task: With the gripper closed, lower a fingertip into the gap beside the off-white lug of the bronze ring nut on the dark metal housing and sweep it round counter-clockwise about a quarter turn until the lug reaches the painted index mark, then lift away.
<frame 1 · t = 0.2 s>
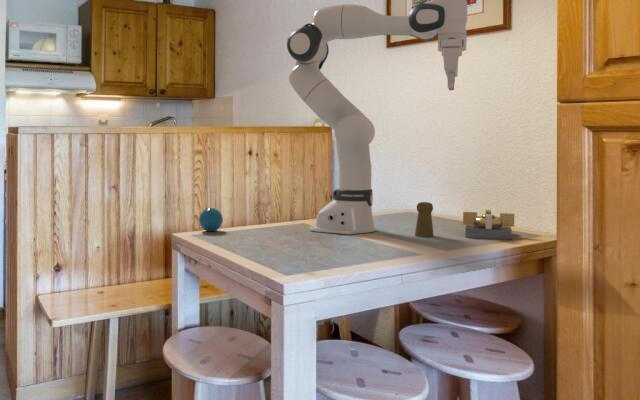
hand: (450, 89, 184), 47 cm above the table, fingers open, 8 cm apart
housing: (487, 235, 189), on the table
ball: (211, 232, 194), on the table
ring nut: (488, 219, 188), point 5 cm above the table, hinge at 0.0°
cork: (424, 236, 188), on the table
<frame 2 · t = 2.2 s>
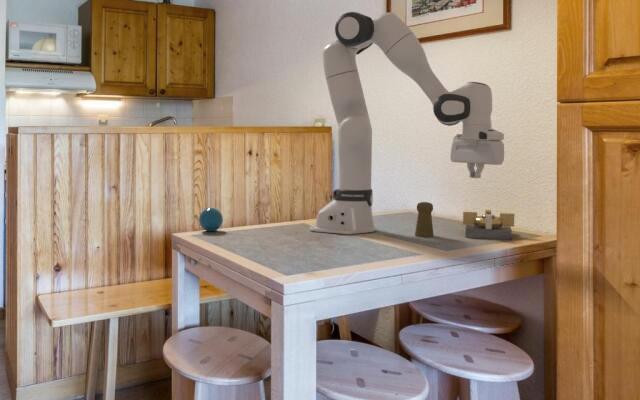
hand: (475, 177, 184), 19 cm above the table, fingers closed
nothing on the table moved.
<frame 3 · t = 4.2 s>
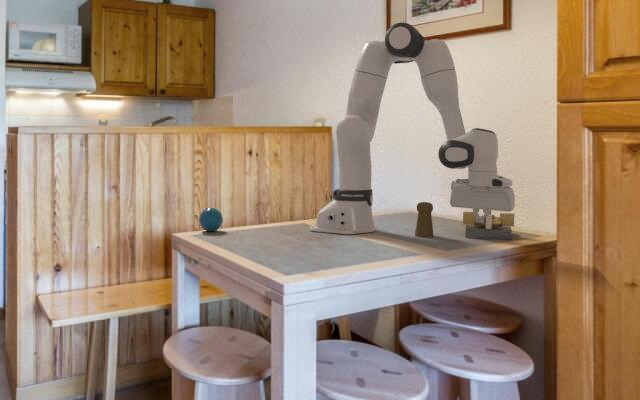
hand: (480, 223, 184), 5 cm above the table, fingers closed
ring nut: (488, 219, 188), point 5 cm above the table, hinge at 0.0°, touching gripper
everything else where it was.
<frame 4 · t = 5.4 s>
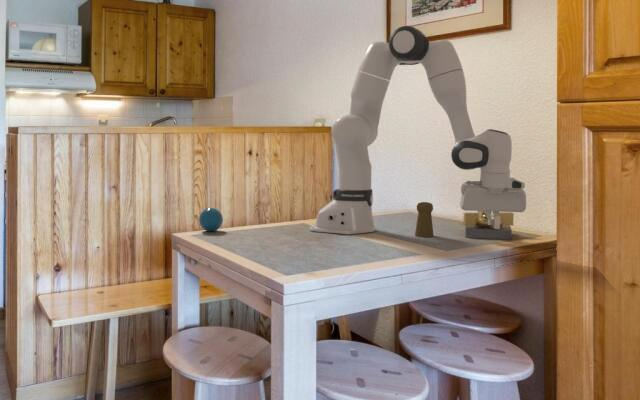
hand: (491, 225, 183), 4 cm above the table, fingers closed, pressing on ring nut
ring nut: (488, 219, 188), point 5 cm above the table, hinge at 18.9°, touching gripper
everything else where it was.
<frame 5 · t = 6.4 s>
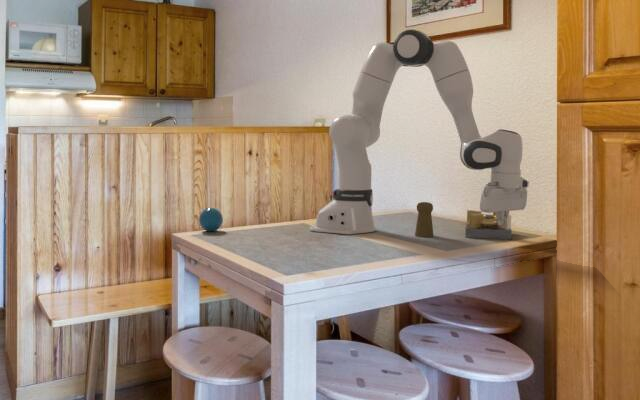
hand: (501, 225, 183), 4 cm above the table, fingers closed, pressing on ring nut
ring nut: (488, 219, 188), point 5 cm above the table, hinge at 51.5°, touching gripper
everything else where it was.
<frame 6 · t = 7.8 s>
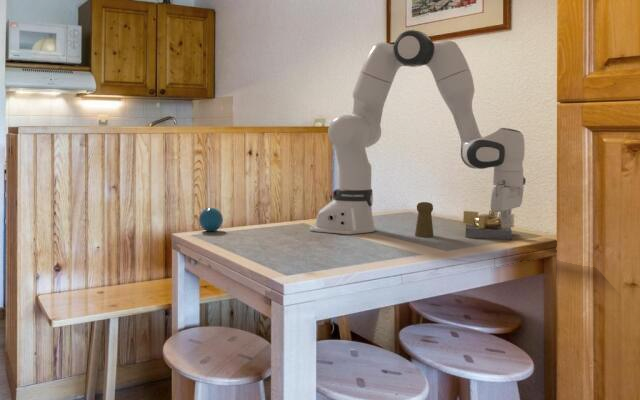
hand: (505, 223, 184), 5 cm above the table, fingers closed
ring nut: (488, 219, 188), point 5 cm above the table, hinge at 73.8°, touching gripper
everything else where it was.
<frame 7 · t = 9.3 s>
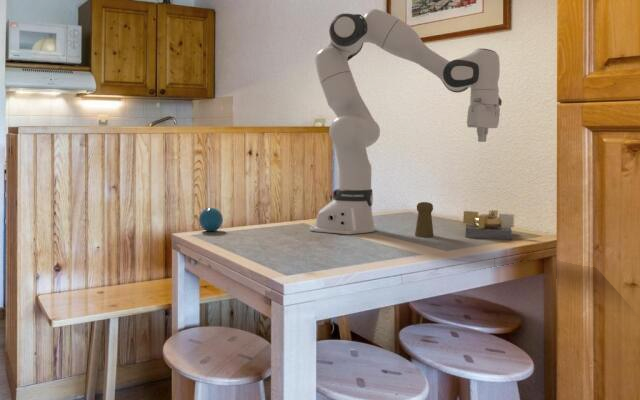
hand: (482, 141, 191), 30 cm above the table, fingers closed
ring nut: (488, 219, 188), point 5 cm above the table, hinge at 73.8°
everything else where it was.
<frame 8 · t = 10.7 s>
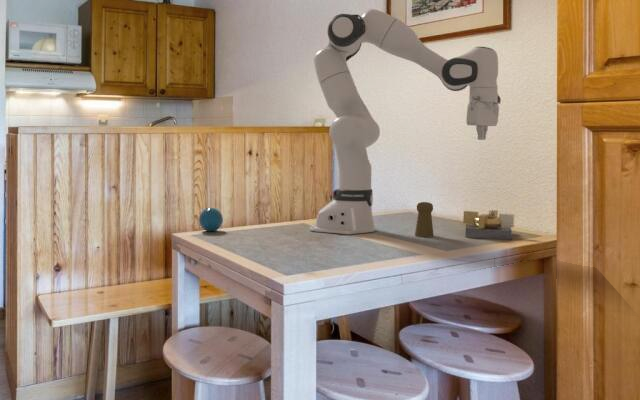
hand: (481, 139, 191), 31 cm above the table, fingers closed
nothing on the table moved.
at the end: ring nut at +74° (first picture: +0°); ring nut touching nothing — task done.
